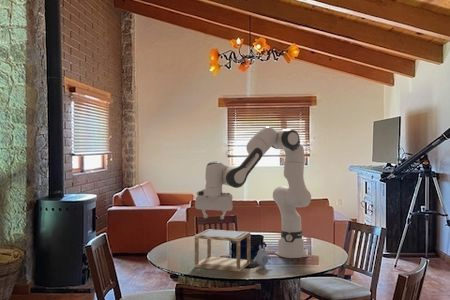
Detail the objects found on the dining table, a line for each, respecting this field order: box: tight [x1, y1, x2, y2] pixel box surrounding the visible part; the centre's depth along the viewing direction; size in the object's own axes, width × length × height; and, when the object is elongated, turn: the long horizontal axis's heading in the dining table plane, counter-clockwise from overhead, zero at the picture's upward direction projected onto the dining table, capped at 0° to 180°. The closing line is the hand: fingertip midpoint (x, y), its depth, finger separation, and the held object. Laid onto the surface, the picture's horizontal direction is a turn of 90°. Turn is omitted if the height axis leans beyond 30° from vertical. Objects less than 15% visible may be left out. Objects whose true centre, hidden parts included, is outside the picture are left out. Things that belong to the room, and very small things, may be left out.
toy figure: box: [252, 244, 272, 270], centre depth 236 cm, size 11×6×12 cm, turn 120°
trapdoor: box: [200, 229, 246, 245], centre depth 243 cm, size 20×14×3 cm
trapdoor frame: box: [194, 228, 251, 273], centre depth 243 cm, size 24×18×16 cm
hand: (213, 218), depth 244 cm, fingers open, 8 cm apart
